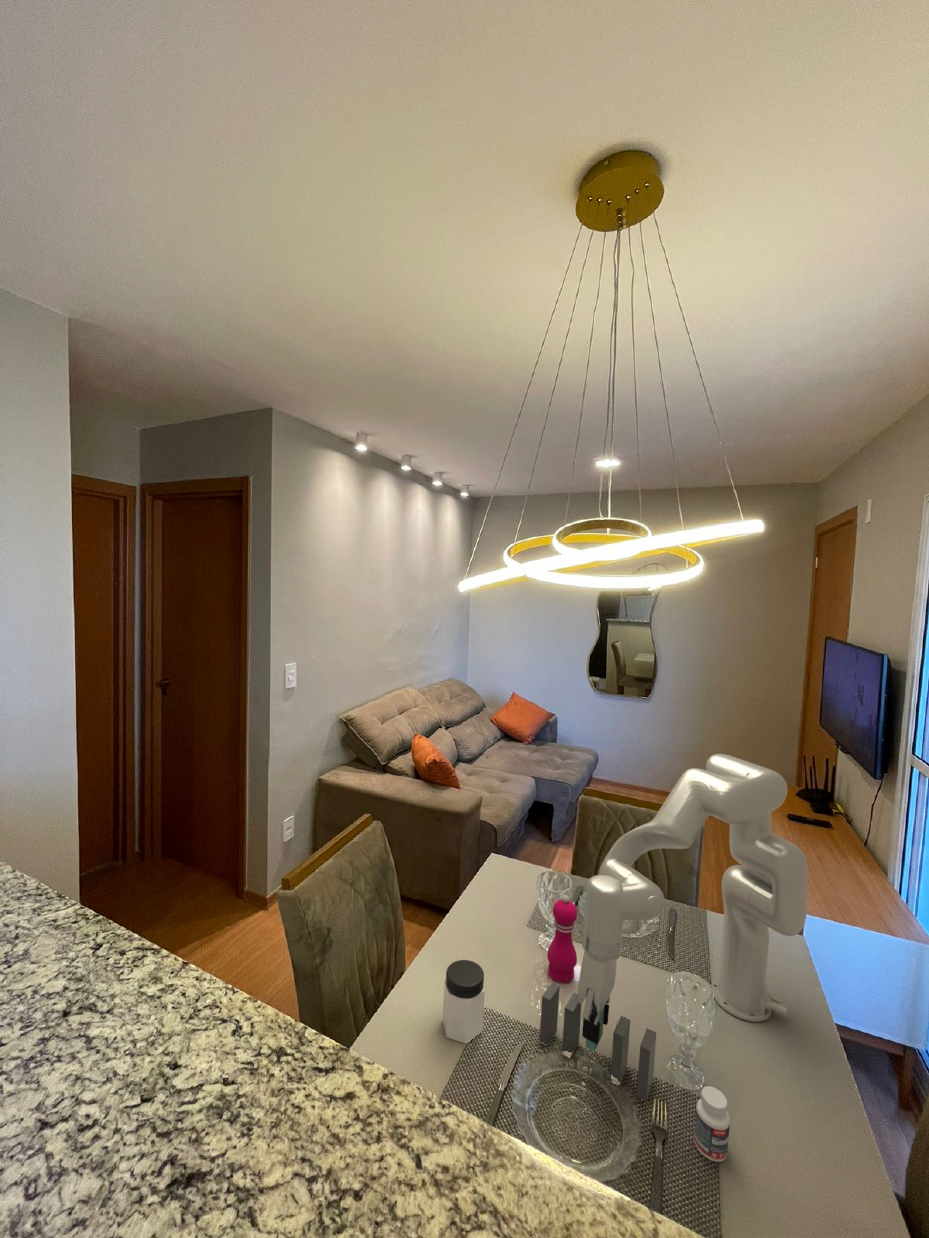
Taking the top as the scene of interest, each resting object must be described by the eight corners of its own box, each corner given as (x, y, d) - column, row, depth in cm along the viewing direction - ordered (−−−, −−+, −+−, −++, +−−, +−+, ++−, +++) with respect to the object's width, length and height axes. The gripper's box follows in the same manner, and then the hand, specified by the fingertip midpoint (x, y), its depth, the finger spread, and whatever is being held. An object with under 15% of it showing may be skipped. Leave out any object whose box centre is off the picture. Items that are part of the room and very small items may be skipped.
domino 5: (652, 1082, 100) (656, 1032, 100) (646, 1102, 96) (650, 1050, 96) (643, 1077, 101) (646, 1027, 101) (636, 1096, 97) (640, 1045, 97)
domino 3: (602, 1034, 105) (606, 987, 105) (594, 1051, 101) (598, 1002, 101) (593, 1030, 106) (597, 983, 106) (585, 1046, 102) (589, 997, 102)
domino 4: (626, 1068, 103) (630, 1019, 103) (619, 1087, 99) (622, 1036, 98) (617, 1063, 104) (621, 1015, 104) (610, 1082, 100) (613, 1032, 99)
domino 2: (578, 1042, 108) (582, 996, 108) (570, 1059, 104) (573, 1011, 104) (570, 1038, 109) (573, 992, 109) (561, 1054, 105) (564, 1007, 105)
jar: (435, 1035, 108) (438, 979, 108) (448, 1006, 116) (451, 954, 115) (476, 1048, 105) (480, 991, 105) (487, 1018, 113) (490, 965, 113)
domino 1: (556, 1030, 111) (559, 985, 111) (547, 1046, 107) (550, 999, 107) (549, 1026, 112) (551, 981, 112) (539, 1042, 108) (542, 995, 108)
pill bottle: (712, 1168, 85) (715, 1116, 85) (686, 1137, 90) (690, 1088, 90) (734, 1155, 87) (738, 1105, 87) (708, 1126, 92) (712, 1078, 92)
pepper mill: (575, 987, 124) (581, 906, 123) (545, 981, 125) (550, 901, 125) (575, 966, 131) (580, 889, 130) (546, 961, 132) (551, 885, 132)
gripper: (597, 914, 112) (591, 995, 113) (568, 956, 98) (561, 1049, 99) (632, 928, 108) (625, 1012, 109) (606, 974, 94) (599, 1071, 95)
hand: (595, 1029), depth 104 cm, fingers closed on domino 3, 4 cm apart
